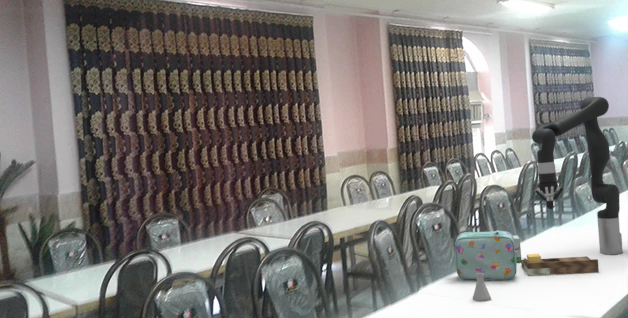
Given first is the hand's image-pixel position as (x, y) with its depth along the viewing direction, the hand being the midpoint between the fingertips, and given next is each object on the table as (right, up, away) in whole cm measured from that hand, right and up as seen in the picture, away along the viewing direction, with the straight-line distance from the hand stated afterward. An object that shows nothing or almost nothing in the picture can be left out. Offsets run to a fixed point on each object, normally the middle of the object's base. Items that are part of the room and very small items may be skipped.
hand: (550, 208), depth 276 cm
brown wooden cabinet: (0, -26, -9) cm, 28 cm away
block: (-12, -25, -12) cm, 30 cm away
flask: (-43, -33, -41) cm, 67 cm away
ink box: (-12, -27, +13) cm, 32 cm away
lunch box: (-32, -30, -12) cm, 46 cm away
